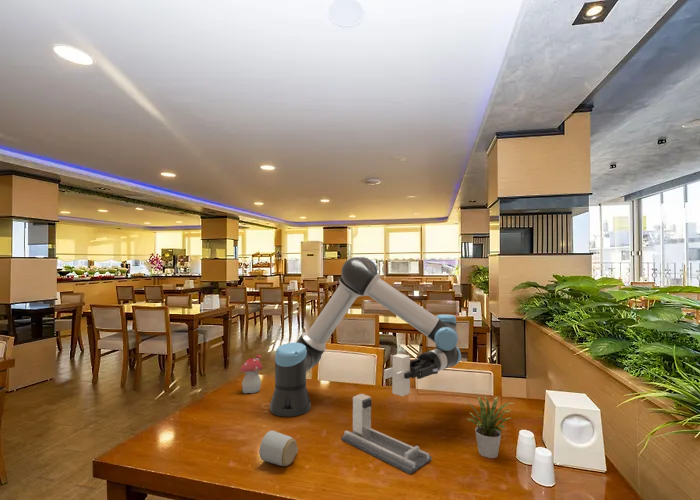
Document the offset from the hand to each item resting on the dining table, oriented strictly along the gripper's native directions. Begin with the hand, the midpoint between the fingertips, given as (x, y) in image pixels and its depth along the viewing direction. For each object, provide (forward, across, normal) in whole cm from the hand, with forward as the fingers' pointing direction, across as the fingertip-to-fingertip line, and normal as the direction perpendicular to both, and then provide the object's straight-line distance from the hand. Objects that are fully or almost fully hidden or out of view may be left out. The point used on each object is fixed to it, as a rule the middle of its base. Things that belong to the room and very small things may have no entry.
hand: (390, 376), depth 114 cm
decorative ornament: (+9, +69, -20) cm, 72 cm away
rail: (+6, -2, -20) cm, 21 cm away
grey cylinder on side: (+30, +15, -20) cm, 39 cm away
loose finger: (-5, 0, -7) cm, 9 cm away
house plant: (-14, -26, -20) cm, 36 cm away
